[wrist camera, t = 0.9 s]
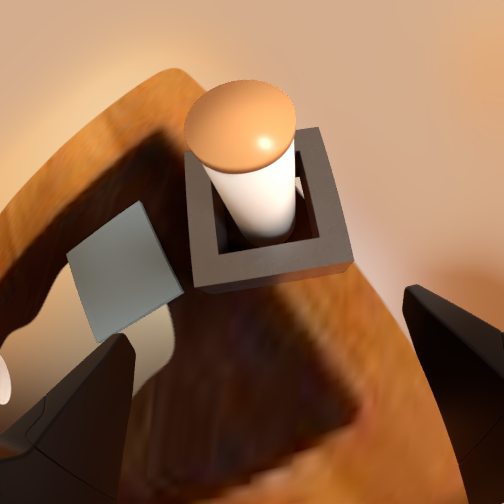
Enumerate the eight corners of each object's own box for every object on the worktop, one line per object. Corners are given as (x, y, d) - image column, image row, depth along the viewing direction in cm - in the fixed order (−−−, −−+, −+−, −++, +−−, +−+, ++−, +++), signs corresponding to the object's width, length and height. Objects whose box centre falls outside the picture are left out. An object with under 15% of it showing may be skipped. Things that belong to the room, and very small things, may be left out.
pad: (184, 292, 23) (181, 291, 22) (101, 342, 23) (97, 342, 22) (141, 203, 25) (138, 200, 25) (70, 255, 25) (66, 254, 25)
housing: (343, 272, 22) (354, 260, 18) (210, 294, 23) (194, 287, 19) (316, 155, 24) (318, 127, 20) (199, 176, 25) (184, 152, 21)
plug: (288, 255, 23) (280, 175, 11) (230, 241, 24) (167, 157, 11) (302, 199, 24) (305, 86, 11) (246, 187, 24) (206, 77, 12)
